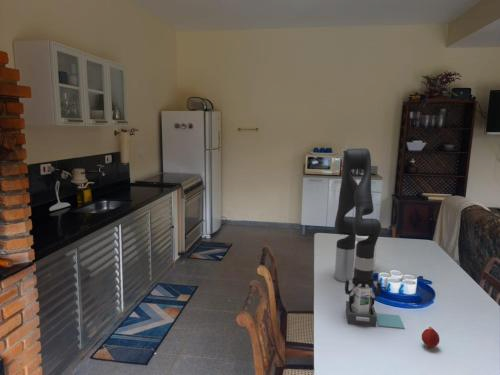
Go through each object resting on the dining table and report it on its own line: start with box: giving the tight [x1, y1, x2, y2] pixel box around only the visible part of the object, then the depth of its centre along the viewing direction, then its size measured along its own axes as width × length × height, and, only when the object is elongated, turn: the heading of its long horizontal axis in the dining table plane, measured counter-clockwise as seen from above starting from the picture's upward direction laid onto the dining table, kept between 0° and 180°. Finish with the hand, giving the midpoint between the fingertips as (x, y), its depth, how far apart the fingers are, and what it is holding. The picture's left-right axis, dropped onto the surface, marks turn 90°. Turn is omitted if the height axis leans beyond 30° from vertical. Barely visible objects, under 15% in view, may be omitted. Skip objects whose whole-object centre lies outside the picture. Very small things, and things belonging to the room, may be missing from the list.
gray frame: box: [344, 300, 378, 328], centre depth 153 cm, size 12×11×4 cm
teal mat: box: [376, 312, 406, 330], centre depth 152 cm, size 10×10×1 cm
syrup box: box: [351, 283, 373, 315], centre depth 152 cm, size 6×6×14 cm
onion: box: [421, 326, 440, 349], centre depth 134 cm, size 6×6×8 cm
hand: (361, 304), depth 153 cm, fingers closed on syrup box, 7 cm apart
